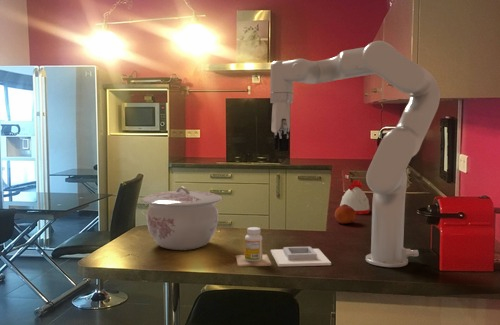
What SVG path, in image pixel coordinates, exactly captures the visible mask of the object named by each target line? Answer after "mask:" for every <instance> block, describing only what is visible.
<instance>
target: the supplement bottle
mask: <svg viewBox="0 0 500 325" xmlns="http://www.w3.org/2000/svg"><path fill="white" fill-rule="evenodd" d="M246 231H247V234H246V235H245V236H244V255H245V260H247V261H251V262H257V261H261V260H262V255H263V236H262V235H261V228H260V227H257V226H252V227H251V226H250V227H247V230H246Z"/></svg>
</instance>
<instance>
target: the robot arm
mask: <svg viewBox="0 0 500 325" xmlns="http://www.w3.org/2000/svg"><path fill="white" fill-rule="evenodd" d="M369 75H370V76H372V75H377V76H379V77H380V78H381V79H383V80H384V81H386V82H387V83H388V84H389V85H391V86H392V87H394V88H395V89H396V90H398V91H400V93H403V94H407V95H409V100H408V103H407V104H406V106H405V108H404V110H403V112H402V114H401V117H400V118H399V121H398V122H397V124H396V126H395V127H394V128H392V129H390V130H388V132H386V133H385V135H384V136H383V138H382V139H381V141H380V142H379V145H378V147H377V150H376V151H375V154H374V155H373V158H372V160H371V163H370V164H369V166H368V169H367V171H366V175H365V179H366V180H365V182H366V184H367V187H368V188H369V189H370V191H371V192H372V195H373V196H372V205H371V207H372V208H371V239H370V240H371V241H370V242H371V244H370V253H369V254H367V255H365V261H366V262H367V263H368V264H371V265H374V266H378V267H382V268H401V267H406V266H407V265H408V264H409V259H408V258H409V257H419V255H420V254H419V250H418V249H411V248H406V247H404V236H405V234H404V230H405V229H404V228H405V207H406V206H405V205H406V204H405V203H406V195H407V194H406V193H407V183H408V174H407V170H406V169H407V168H408V166H409V164H410V162H411V160H412V158H414V156H416V155H417V154H418V152H419V151H420V149H421V147H422V144H423V141H424V139H425V138H426V135H427V133H428V131H429V129H430V127H431V124H432V122H433V120H434V118H435V116H436V113H437V111H438V108H439V105H440V100H441V99H440V98H441V92H440V91H441V90H440V88H439V84H438V82H437V80H436V79H435V78H434V76H433V75H432V74H431V72H430V71H428V70H427V69H426V68H425V67H423V66H422V65H419V64H417V63H416V62H415V61H413V60H411V59H410V58H408V57H407V56H406V55H404V54H403V53H401V52H400V51H398V50H397V49H396V48H395V47H394V46H393V45H391V44H390V43H388V42H386V41H384V40H375V41H372V42H370V43H368V44H367V45H366V46H365V47H358V48H353V49H346V50H342V51H341V52H339V54H337V55H336V56H334V57H331V58H326V59H322V60H315V61H313V60H308V59H305V58H295V59H292V60H276V61H275V60H274V61H272V62H271V64H270V86H269V87H270V92H269V94H270V95H269V96H270V97H269V98H270V99H269V101H270V104H272V110H271V126H270V127H271V128H270V129H271V132H272V133H274V134H273V135H274V137H273V149H274V150H278V151H279V152H289V144H290V143H289V141H290V140H289V132H290V128H291V106H290V105H291V104H293V103H294V100H293V99H294V83H302V84H306V85H315V84H322V83H330V82H333V81H338V80H345V79H350V78H357V77H364V76H369Z"/></svg>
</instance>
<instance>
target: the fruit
mask: <svg viewBox="0 0 500 325" xmlns="http://www.w3.org/2000/svg"><path fill="white" fill-rule="evenodd" d="M334 217H335V220H336V222H338V223H340V224H342V225H343V224H345V225H346V224H347V225H348V224H350V223H353V222H354V221H355V220H356V218H357V214H356V212H355V210H354V209H353V208H352V207H350V206H348V205H346V204H343V205H341V206H340V205H339V206H338V207H337V208H336V209H335V211H334Z"/></svg>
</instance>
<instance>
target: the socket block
mask: <svg viewBox="0 0 500 325" xmlns="http://www.w3.org/2000/svg"><path fill="white" fill-rule="evenodd" d="M270 253H271V255H272V257H273V259H274V260H275V262H276V264H277V267H279V268H280V267H306V266H307V267H309V266H310V267H313V266H315V267H316V266H332V262H331V261H330V260H329V258H328V257H327V255H325V254H324V253H323V252H322V251H321V249H320V248H312V246H284V247H283V248H282V249H270Z"/></svg>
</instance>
